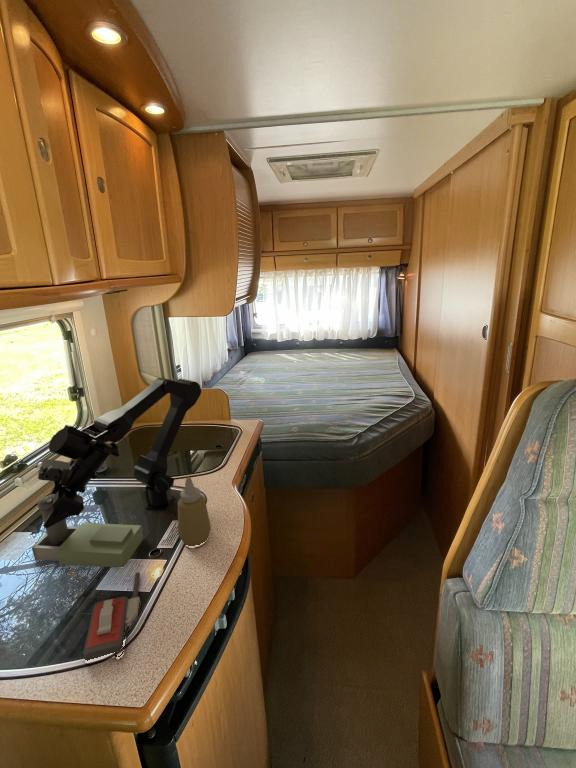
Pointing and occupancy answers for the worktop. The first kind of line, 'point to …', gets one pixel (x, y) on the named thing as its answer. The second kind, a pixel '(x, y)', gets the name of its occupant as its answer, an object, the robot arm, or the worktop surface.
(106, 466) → the pill bottle
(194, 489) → the squeeze bottle
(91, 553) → the green stepped slab
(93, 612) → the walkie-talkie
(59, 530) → the grey domed pawn
